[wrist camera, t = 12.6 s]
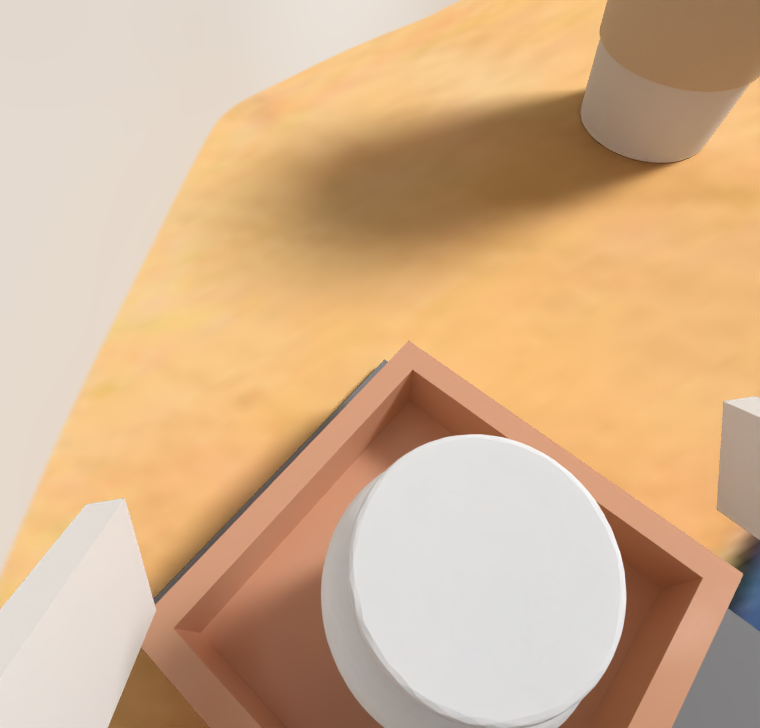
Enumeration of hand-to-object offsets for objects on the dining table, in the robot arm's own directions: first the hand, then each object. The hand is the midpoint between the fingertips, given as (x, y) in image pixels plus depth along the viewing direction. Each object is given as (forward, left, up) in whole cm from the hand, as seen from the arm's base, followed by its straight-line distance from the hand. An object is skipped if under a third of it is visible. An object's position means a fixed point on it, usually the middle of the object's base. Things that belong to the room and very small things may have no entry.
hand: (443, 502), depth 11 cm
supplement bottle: (-1, +1, -6) cm, 7 cm away
